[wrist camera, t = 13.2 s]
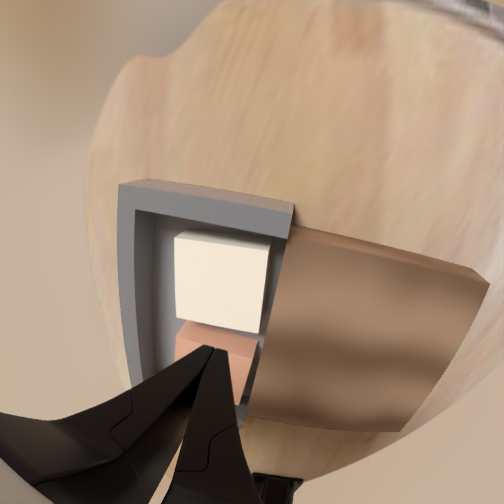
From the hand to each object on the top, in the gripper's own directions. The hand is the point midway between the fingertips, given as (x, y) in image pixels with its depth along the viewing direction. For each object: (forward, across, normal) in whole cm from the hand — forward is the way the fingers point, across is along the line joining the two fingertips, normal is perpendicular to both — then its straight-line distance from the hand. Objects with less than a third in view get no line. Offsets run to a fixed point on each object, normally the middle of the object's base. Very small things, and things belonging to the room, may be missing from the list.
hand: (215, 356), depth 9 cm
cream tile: (+8, +2, +1) cm, 8 cm away
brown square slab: (+8, -8, +4) cm, 12 cm away
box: (+8, +2, +4) cm, 10 cm away
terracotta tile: (+8, +2, +8) cm, 11 cm away
